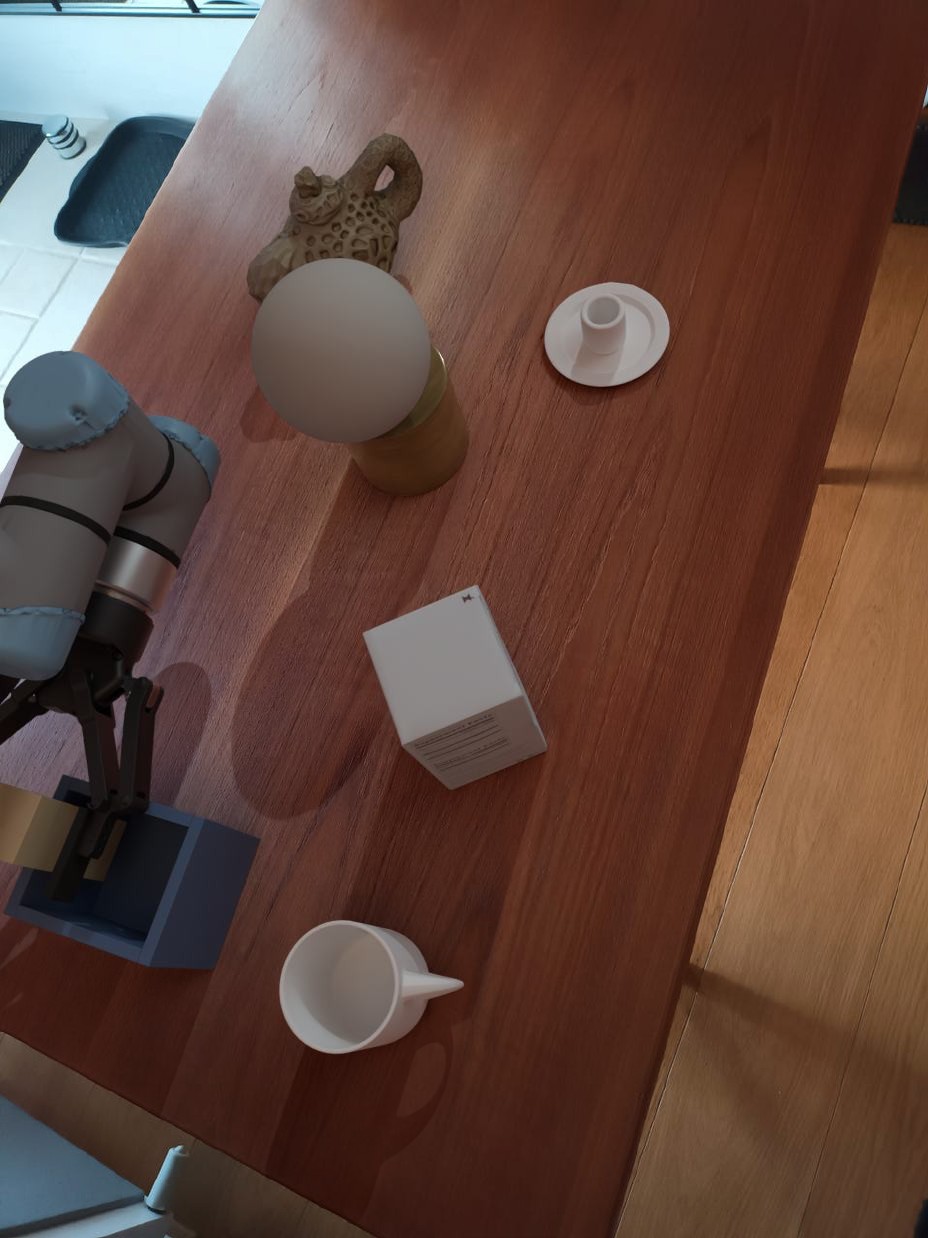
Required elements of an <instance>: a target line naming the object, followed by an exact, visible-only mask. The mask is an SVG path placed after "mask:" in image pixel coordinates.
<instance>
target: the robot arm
mask: <svg viewBox="0 0 928 1238" xmlns="http://www.w3.org/2000/svg"><path fill="white" fill-rule="evenodd" d="M2 405H3V419H4V421H5V424H6V425H7V426H8V428H9V430H10V431H11V432H12V433H13V435H14V437H15V439H16V441H18V442H19V443H20V444H21V445H22V449H21V451H20V454H19V455H18V458H17V460H16V462H15V465H14V468H13V470H12V473H11V475H10V478H9V479H8V483H7V485H6V488H5V489H4V492H3V495H2V497H1V499H0V746H2V745H3V744H4V743H5V742H6V741H8V740H9V739H11V738H12V737H13V736H14V735H15V734H17V733H18V732H19V731H20V730H22V729H23V728H24V727H26V725H28V724H29V723H30V722H32V721H33V720H34V719H35V718H37V717H41V716H45V715H46V714H47V713H49V712H50V711H51V712H54V713H57V714H61V715H64V714H68V715H70V716H71V717H74V718H76V719H77V722H78V724H79V725H80V727H81V731H82V738H83V739H82V740H83V746H84V755H85V761H86V768H87V769H86V770H87V776H88V782H89V785H90V792H91V800H92V802H90V803H91V804H90V803H86V804H87V806H88V807H89V808H90V809H93V810H89V809H86V808H83V807H79V809H78V812H77V814H76V817H75V819H74V821H73V824H72V826H71V828H70V831H69V833H68V836H67V838H66V840H65V843H64V845H63V847H62V850H61V852H60V855H59V857H58V859H57V862H56V864H55V866H54V869H53V871H52V874H51V876H50V878H49V881H48V883H47V885H46V888H45V890H44V893H43V895H42V897H43V898H46V899H49V900H53V901H60V902H67V903H73V901H74V898H75V896H76V893H77V891H78V889H79V886H80V884H81V881H82V879H83V876H84V874H85V871H86V869H87V867H88V864H89V862H90V859H91V858H92V859H97V860H98V859H99V858H100V856H101V855H102V854H103V852H104V849H105V847H106V844H107V842H108V840H109V837H110V835H111V832H112V830H113V827H114V825H115V822H116V821H117V819H118V818H119V817H120V816H122V815H125V814H135V813H136V814H144V813H145V812H146V811H147V810H148V808H149V801H150V796H151V786H152V785H151V784H152V783H151V782H152V771H153V755H154V743H155V727H156V715H157V713H158V710H159V708H160V706H161V703H162V700H163V698H164V696H165V689H164V687H163V686H162V685H160V684H158V683H157V682H155V681H153V680H152V679H150V678H148V677H147V676H139V677H134V676H133V670H134V666H135V665H136V663H138V662H140V661H141V659H142V657H143V655H144V652H145V649H146V647H147V645H148V643H149V640H150V638H151V635H152V632H153V631H154V629H155V625H154V621H153V618H151V617H155V616H157V615H159V614H160V613H161V611H162V608H163V607H164V603H165V601H166V599H167V597H168V594H169V592H170V589H171V587H172V585H173V582H174V580H175V577H176V575H177V573H178V570H179V567H180V565H181V563H182V559H183V556H184V554H185V552H186V550H187V547H188V546H189V543H190V541H191V539H192V537H193V535H194V532H195V530H196V528H197V526H198V523H199V521H200V518H201V516H202V514H203V512H204V510H205V508H206V506H207V504H208V503H209V502H210V501H211V498H212V495H213V492H214V491H213V489H214V485H215V483H216V480H217V477H218V474H219V470H220V468H221V465H222V456H221V451H220V449H219V447H218V446H217V444H216V443H215V442H214V441H213V439H211V438H210V436H208V435H206V434H203V433H201V432H200V431H199V429H198V428H197V427H195V426H193V425H191V424H189V423H188V422H185V421H182V420H180V419H178V418H174V417H172V416H167V415H161V414H155V415H154V414H152V415H147V414H146V413H145V412H144V411H143V410H142V408H141V407H140V406H139V405H138V403H137V402H136V401H135V400H134V399H133V397H132V396H131V395H130V393H129V391H128V390H127V389H126V387H125V386H124V385H123V384H122V383H121V382H120V381H119V380H117V378H115V377H114V376H113V375H112V374H111V373H110V372H109V371H108V370H107V369H105V368H104V366H102V365H100V363H98V362H97V361H96V360H95V359H93V358H92V357H90V356H89V355H86V354H84V353H83V352H78V351H75V350H53V351H50V352H45V353H44V354H41V355H38V356H36V357H34V358H32V359H31V360H29V361H28V362H26V363H25V364H24V365H23V366H22V367H20V368H19V369H18V370H17V371H16V372H15V374H14V375H13V376H12V377H11V379H10V380H9V382H8V383H7V386H6V388H5V390H4V393H3V398H2ZM21 680H23V681H22V682H21ZM8 697H9V698H8ZM121 697H124V701H125V707H124V715H123V724H122V725H123V726H122V737H121V749H120V759H119V757H118V751H117V743H116V737H115V728H117V723H116V721H117V720H116V714H115V707H114V703H115V702H116V701H117V700H119V699H120V698H121Z"/></svg>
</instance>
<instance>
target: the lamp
mask: <svg viewBox="0 0 928 1238" xmlns="http://www.w3.org/2000/svg"><path fill="white" fill-rule="evenodd" d="M250 354H251V364H252V368H253V369H252V370H253V373H254V377H255V380H256V382H257V384H258V387H259V389H260V391H261V394H262V395H263V397H264V399H265V400H266V401H267V403H268V405H269V406H270V407H271V408H272V410H273V411H274V412H275V413H276V414H277V415H278V416H279V417H280V419H282V421H284V422H285V423H286V424H287V425H289V426H290V427H292V428H293V429H295V430H296V431H298V432H299V433H301V434H304V435H305V436H308V437H310V438H312V439H315V440H318V441H322V442H326V443H333V444H345V446H346V448H347V450H348V452H349V453H350V455H351V457H352V458H353V460H354V461H355V463H356V465H357V467H358V468H359V470H360V472H361V474H362V475H363V476H364V478H365V479H366V480H367V481H368V482H369V483H370V484H371V485H372V486H373V487H375V488H376V489H377V490H379V491H382V492H384V493H387V494H390V495H393V496H402V497H409V496H412V497H413V496H418V495H419V496H420V495H422V494H425V493H428V492H431V491H433V490H435V489H437V488H439V487H441V486H442V485H444V484H445V483H446V482H447V481H449V480H450V479H451V478H452V477H453V476H454V475H455V474H456V473H457V472H458V470H459V469H460V467H461V466H462V464H463V463H464V460H465V458H466V455H467V452H468V448H469V441H470V438H469V437H470V435H469V429H468V426H467V422H466V419H465V417H464V414H463V410H462V408H461V405H460V402H459V399H458V396H457V393H456V390H455V388H454V384H453V382H452V379H451V375H450V372H449V370H448V367H447V364H446V362H445V359H444V357H443V355H442V354H441V351H440V350H438V348H437V347H436V346H435V345H434V344H433V343H432V342H431V339H430V333H429V330H428V326H427V323H426V319H425V318H424V315H423V313H422V311H421V308H420V307H419V305H418V304H417V301H416V300H415V299H414V298H413V296H412V295H411V293H410V292H409V290H407V289H406V288H405V287H404V286H403V284H402V283H400V282H399V281H398V280H397V279H396V278H394V276H392V275H391V274H390V273H389V274H388V273H386V272H384V271H383V270H381V269H379V268H377V267H375V266H373V265H370V264H368V263H365V262H362V261H357V260H352V259H345V258H332V259H323V260H318V261H314V262H311V263H308V264H305V265H303V266H301V267H299V268H297V269H295V270H293V271H292V272H290V273H289V274H287V275H286V276H285V277H284V278H282V279H281V280H280V281H279V282H278V283H277V284H276V285H275V286H274V287H273V289H272V290H271V291H270V292H269V293H268V295H267V296H266V298H265V299H264V301H263V303H262V305H261V306H260V307H259V309H258V312H257V313H256V316H255V319H254V323H253V326H252V331H251V340H250Z"/></svg>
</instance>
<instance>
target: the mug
mask: <svg viewBox="0 0 928 1238" xmlns="http://www.w3.org/2000/svg"><path fill="white" fill-rule="evenodd" d="M282 966H283V967H282V968H281V969H282V970H281V973H280V979H279V1003H280V1007H281V1010H282V1014H283V1017H284V1020H285V1021H286V1024H287V1025H288V1027H289V1028H290V1030H291V1032H292V1033H293V1034H294V1035H295V1036H296V1038H298V1039H299V1040H300V1041H301V1042H302V1043H304V1044H305V1045H306V1046H308V1047H310V1048H312V1049H313V1050H315V1051H318V1052H321V1053H326V1054H332V1055H342V1054H348V1053H352V1052H357V1051H361V1050H367V1049H371V1048H376V1047H380V1046H385V1045H388V1044H392V1043H395V1042H396V1041H398V1040H400V1039H402V1038H404V1036H406V1035H408V1034H409V1033H411V1031H412V1030H413V1029H414V1028H415V1026H416V1025H417V1024H419V1021H420V1020H421V1019H422V1016H423V1015H424V1012H425V1010H426V1008H427V1005H428V1003H429V1000H431V999H434V998H437V997H438V998H439V997H440V996H444V995H447V994H450V993H453V992H456V991H459V990H461V989H463V988H464V986H465V983H464V982H463V981H462V980H460V979H457V978H453V977H450V976H444V975H440V974H436V973H432V972H429V968H428V965H427V962H426V960H425V957H424V956H423V954H422V952H421V951H420V949H419V948H418V946H417V945H416V944H415V943H414V942H413V941H412V940H411V939H410V938H408V937H407V936H405V935H404V934H402V933H400V932H398V931H396V930H393V929H390V928H385V927H381V926H376V925H371V924H367V923H362V922H358V921H352V920H345V919H341V920H339V919H338V920H332V921H327V922H323V923H322V924H319V925H317V926H315V927H313V928H312V929H310V930H308V932H306V933H305V934H303V935H302V936H301V937H300V938H299V939H298V940H297V942H296V943H295V944H294V945H293V946H292V948H291V950H290V951H289V953H288V955H287V956H286V959H285V961H284V964H283V965H282Z"/></svg>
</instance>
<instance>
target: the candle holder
mask: <svg viewBox="0 0 928 1238" xmlns="http://www.w3.org/2000/svg"><path fill="white" fill-rule="evenodd" d="M670 328H671V327H670V321H669V318H668V315H667V312H666V310H665V309H664V307H663V305H662V304H661V302H659V301H658V299H657V298H655V297H654V296H653V295H652V294H651V293H649V292H647V291H646V290H644V289H642V288H641V287H638V286H637V285H634V284H630V283H621V282H614V281H609V282H603V283H597V284H594V285H589V286H587V287H585V288H582V289H580V290H578V291H575V292H574V293H572V294H571V295H569V296H568V297H566V298H565V299H564V300H563V301H562V302H561V303H560V304H558V306H557V307H556V308H555V310H554V311H553V312H552V314H551V315H550V316H549V318H548V321H547V324H546V326H545V331H544V339H543V340H544V348H545V353H546V355H547V357H548V359H549V361H550V363H551V364H552V366H553V367H554V368H555V370H557V371H558V372H559V373H560V374H561V375H562V376H564V377H565V378H567V379H569V380H571V381H573V382H575V383H578V384H581V385H585V386H589V387H598V388H599V387H603V388H604V387H614V386H618V385H622V384H626V383H628V382H629V383H630V382H632V381H633V380H636V379H638V378H639V377H641V376H643V375H644V374H646V373H647V372H648V371H650V370H651V369H652V368H653V367H655V365H656V364H657V363H658V361H660V359H661V357H662V356H663V354H664V352H665V351H666V348H667V346H668V343H669V340H670V333H671V332H670Z"/></svg>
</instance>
